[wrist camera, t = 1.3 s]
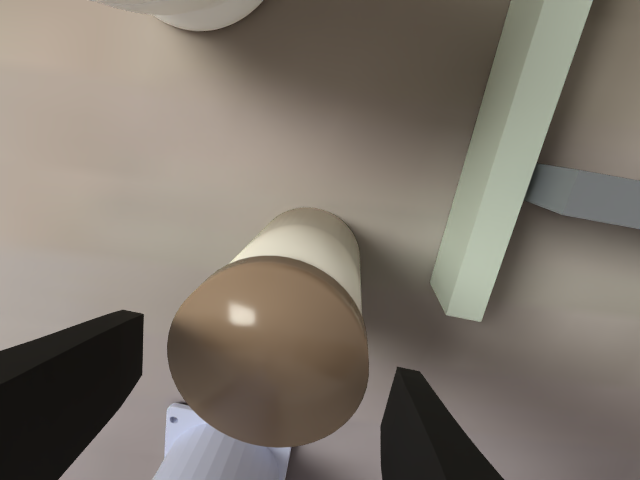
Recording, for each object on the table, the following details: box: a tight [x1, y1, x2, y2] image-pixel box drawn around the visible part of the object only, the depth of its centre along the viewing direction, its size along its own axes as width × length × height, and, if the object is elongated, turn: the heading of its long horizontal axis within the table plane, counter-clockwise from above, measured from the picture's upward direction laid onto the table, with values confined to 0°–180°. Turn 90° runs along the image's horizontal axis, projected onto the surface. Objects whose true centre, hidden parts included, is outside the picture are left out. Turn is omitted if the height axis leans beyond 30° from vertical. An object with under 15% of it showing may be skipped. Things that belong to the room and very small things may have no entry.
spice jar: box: [167, 208, 369, 448], centre depth 14 cm, size 6×6×9 cm
